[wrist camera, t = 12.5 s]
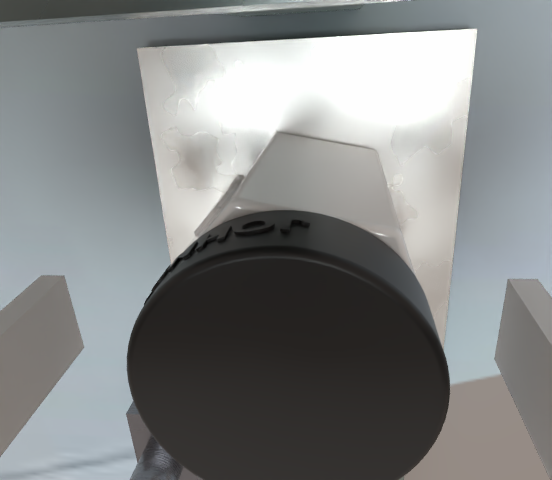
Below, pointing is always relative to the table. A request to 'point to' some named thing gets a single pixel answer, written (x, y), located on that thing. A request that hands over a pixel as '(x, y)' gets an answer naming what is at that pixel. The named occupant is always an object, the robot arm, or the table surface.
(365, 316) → the jar
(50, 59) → the table surface
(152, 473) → the lever
